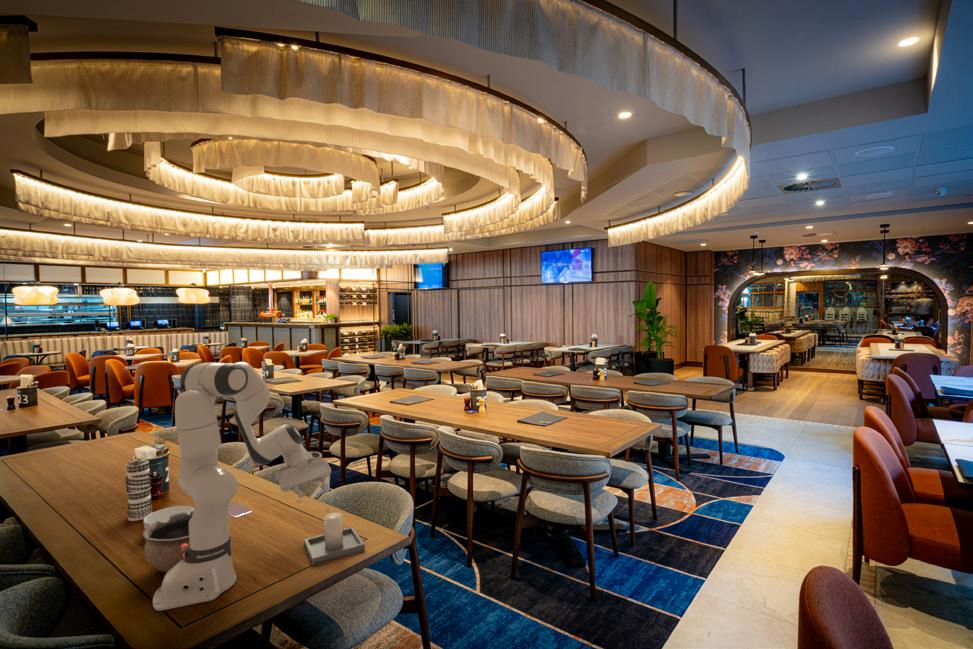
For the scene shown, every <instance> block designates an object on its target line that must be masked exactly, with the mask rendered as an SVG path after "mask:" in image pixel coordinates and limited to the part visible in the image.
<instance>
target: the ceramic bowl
mask: <svg viewBox="0 0 973 649" xmlns="http://www.w3.org/2000/svg"><path fill="white" fill-rule="evenodd" d="M192 515H193V511H192V512H191V513H190V515H189V514H187V513H179V514H176V515H172V516H170V520H169V521H168V522H164V523H163V522H160V521H156V522H154V523H152V524H151V525H149V526H148V527H147V528H146V529H145V528H144V530H143V532H142V537H143V539H144V541H145V543H144V550H143V551H144V557H145V560H147V562H148V563H149V564H150V565H151V566H152V567H153V568H154V569H157V570H158V571H160V572H163V573H167V572H168V571H169V570H170V569H171V568H173V567H174V566H175V565H176V564H177V563H178V562H179V561H181V560H182V551H181V546H182V545H183V544H187V545H189V520H190V519H191V518H192Z"/></svg>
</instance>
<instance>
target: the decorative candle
mask: <svg viewBox="0 0 973 649" xmlns="http://www.w3.org/2000/svg"><path fill="white" fill-rule="evenodd" d="M149 463H150V460H149V459H148V460H147V459H146V457H138V458H132V459H131V460H129V461H128V462H127V463H126V464H125V466H126V476H125V478H124V479H125V484H126V485H125V487H126V494H128V495H127V497H128V499H127V504H126V505H127V509H128V510H127V517H128V518H127V520H128V521H131V522H134V521H141V520H144V518H145V517H146V516H148V515H149V514H151V513H153V505H152V503H153V501H152V499H153V498H152V496H151V495H152V494H151V488H152V485H150V484H151V483H152V482H153V481H152V476H151V475H152V474H153V473H152V469H151V468H150V464H149Z"/></svg>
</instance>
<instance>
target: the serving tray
mask: <svg viewBox="0 0 973 649" xmlns="http://www.w3.org/2000/svg"><path fill="white" fill-rule="evenodd" d="M303 543H304V548H305V550H306V552H307V555H308V558H309V559H310V562H311V565H312V564H313V565H314V566H317V565H320V564H325V563H326V562H330V561H335V560H338V559H340V558H344V557H347V556H351V555H354V554H359V553H362V552H365V551H366V547H365V545H366V544H365V542H364V541H363V539H362V538H361V537H360V535H359V533H358V532H357V531H356V529H355V528H354V527H353V526H351V527H347V528H343V546H342V547H341V548H339V549H336V550H327V549H325V535H324V534H320V535H316V536H312V537H308V538H304V542H303ZM313 565H312V566H313Z"/></svg>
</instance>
